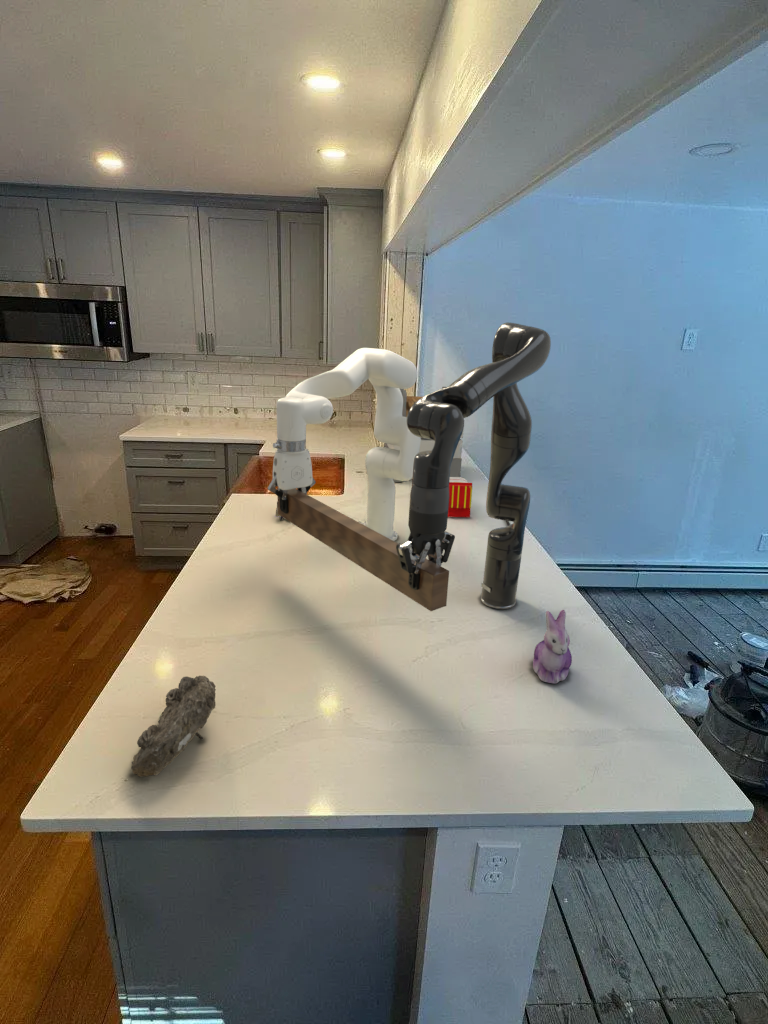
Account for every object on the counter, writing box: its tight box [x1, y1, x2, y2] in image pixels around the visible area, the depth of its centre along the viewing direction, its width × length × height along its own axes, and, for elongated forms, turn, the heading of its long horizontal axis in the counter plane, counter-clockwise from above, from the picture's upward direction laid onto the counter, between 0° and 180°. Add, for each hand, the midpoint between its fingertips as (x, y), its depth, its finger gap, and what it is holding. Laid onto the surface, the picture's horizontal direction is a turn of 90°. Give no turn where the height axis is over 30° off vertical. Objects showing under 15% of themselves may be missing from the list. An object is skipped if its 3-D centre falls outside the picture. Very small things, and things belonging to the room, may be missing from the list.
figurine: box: [532, 609, 573, 684], centre depth 124 cm, size 9×10×15 cm
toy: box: [448, 476, 473, 518], centre depth 229 cm, size 12×13×30 cm
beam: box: [276, 487, 450, 612], centre depth 135 cm, size 64×4×8 cm, turn 37°
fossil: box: [130, 675, 217, 778], centre depth 101 cm, size 22×10×15 cm
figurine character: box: [275, 500, 284, 521], centre depth 211 cm, size 7×8×15 cm
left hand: (292, 509), depth 156 cm, fingers closed on beam, 4 cm apart
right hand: (423, 585), depth 115 cm, fingers closed on beam, 4 cm apart
